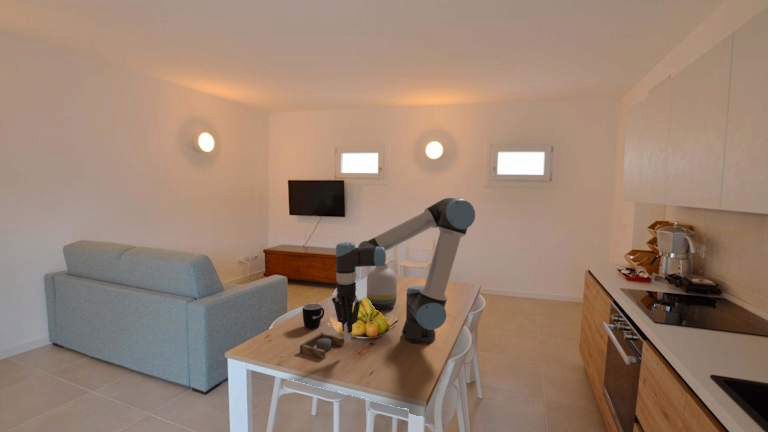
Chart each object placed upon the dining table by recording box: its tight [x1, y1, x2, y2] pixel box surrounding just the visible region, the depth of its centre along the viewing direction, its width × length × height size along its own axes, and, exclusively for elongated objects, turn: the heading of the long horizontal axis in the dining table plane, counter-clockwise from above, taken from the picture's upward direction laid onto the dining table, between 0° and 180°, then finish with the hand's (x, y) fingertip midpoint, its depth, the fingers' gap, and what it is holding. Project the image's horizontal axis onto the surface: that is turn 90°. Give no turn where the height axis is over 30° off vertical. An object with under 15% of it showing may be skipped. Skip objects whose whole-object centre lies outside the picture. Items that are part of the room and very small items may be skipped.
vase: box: [366, 263, 398, 310], centre depth 202 cm, size 17×17×24 cm
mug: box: [302, 302, 325, 330], centre depth 172 cm, size 12×9×10 cm
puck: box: [315, 338, 332, 353], centre depth 148 cm, size 6×6×4 cm
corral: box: [299, 332, 345, 360], centre depth 149 cm, size 12×14×3 cm
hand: (347, 339), depth 143 cm, fingers closed
